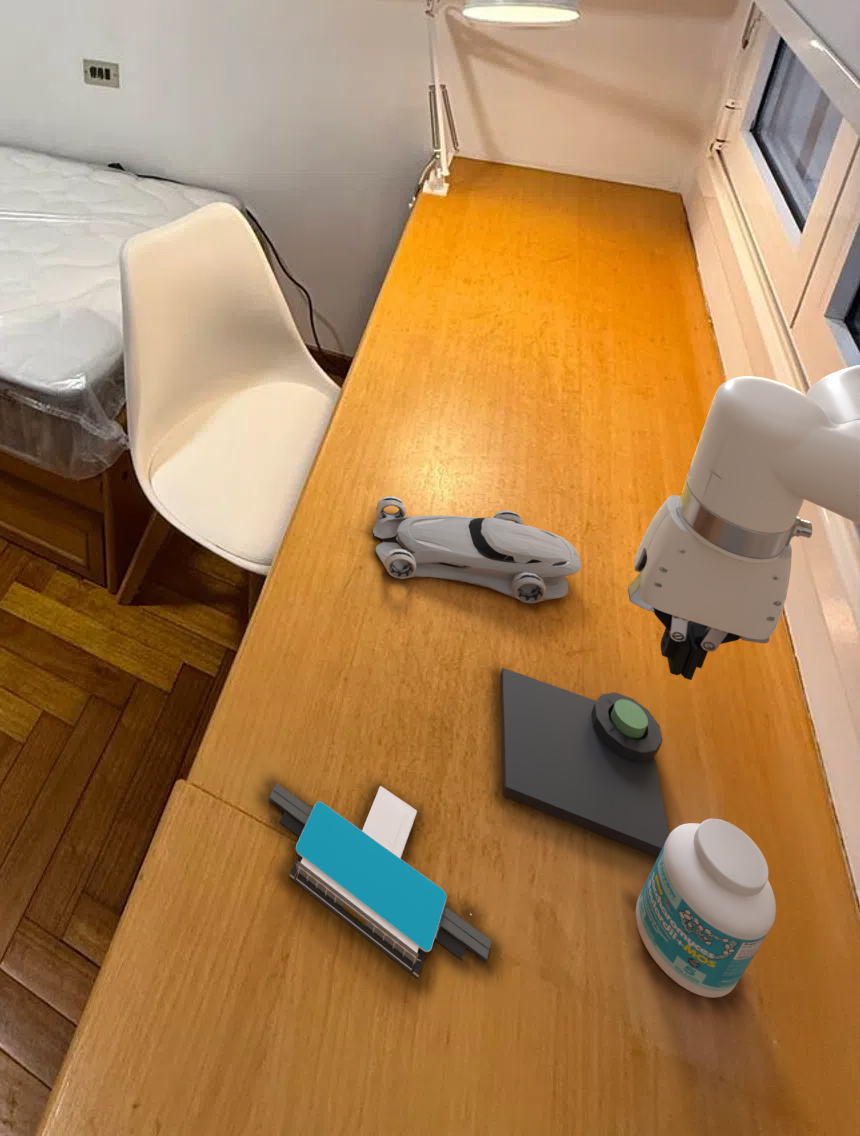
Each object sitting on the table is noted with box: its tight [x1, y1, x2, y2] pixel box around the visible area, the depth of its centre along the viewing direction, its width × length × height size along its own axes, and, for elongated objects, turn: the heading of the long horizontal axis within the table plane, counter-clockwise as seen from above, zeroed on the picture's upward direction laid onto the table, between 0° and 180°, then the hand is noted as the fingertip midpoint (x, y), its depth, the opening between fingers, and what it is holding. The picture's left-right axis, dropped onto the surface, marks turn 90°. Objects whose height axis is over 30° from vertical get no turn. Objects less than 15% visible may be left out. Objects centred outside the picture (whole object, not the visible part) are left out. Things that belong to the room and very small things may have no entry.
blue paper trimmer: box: [268, 782, 493, 980], centre depth 76 cm, size 20×12×2 cm, turn 53°
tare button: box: [611, 699, 648, 739], centre depth 85 cm, size 3×3×2 cm
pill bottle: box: [635, 818, 777, 999], centre depth 69 cm, size 8×7×14 cm
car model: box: [372, 495, 582, 604], centre depth 106 cm, size 11×24×5 cm, turn 80°
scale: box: [499, 667, 670, 858], centre depth 84 cm, size 14×13×3 cm
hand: (677, 663), depth 78 cm, fingers closed
